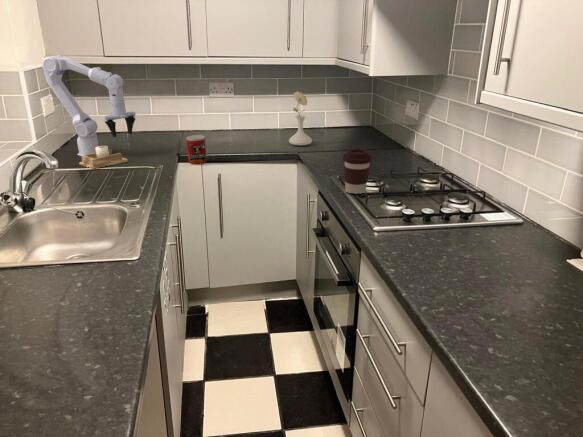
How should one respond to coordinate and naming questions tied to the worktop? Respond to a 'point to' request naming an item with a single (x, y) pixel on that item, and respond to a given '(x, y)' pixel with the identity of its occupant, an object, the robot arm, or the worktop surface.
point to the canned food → (196, 149)
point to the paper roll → (102, 151)
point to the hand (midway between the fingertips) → (122, 135)
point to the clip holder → (102, 160)
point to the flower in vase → (300, 123)
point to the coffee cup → (356, 170)
